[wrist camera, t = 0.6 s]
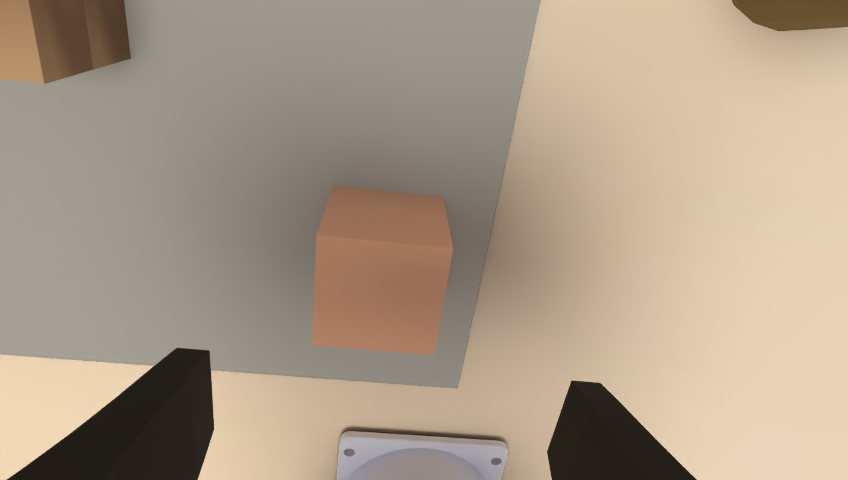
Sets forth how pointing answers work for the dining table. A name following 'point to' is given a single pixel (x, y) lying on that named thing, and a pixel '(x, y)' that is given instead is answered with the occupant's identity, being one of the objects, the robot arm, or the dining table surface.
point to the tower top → (43, 40)
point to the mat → (249, 176)
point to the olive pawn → (795, 13)
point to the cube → (380, 271)
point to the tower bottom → (107, 31)
